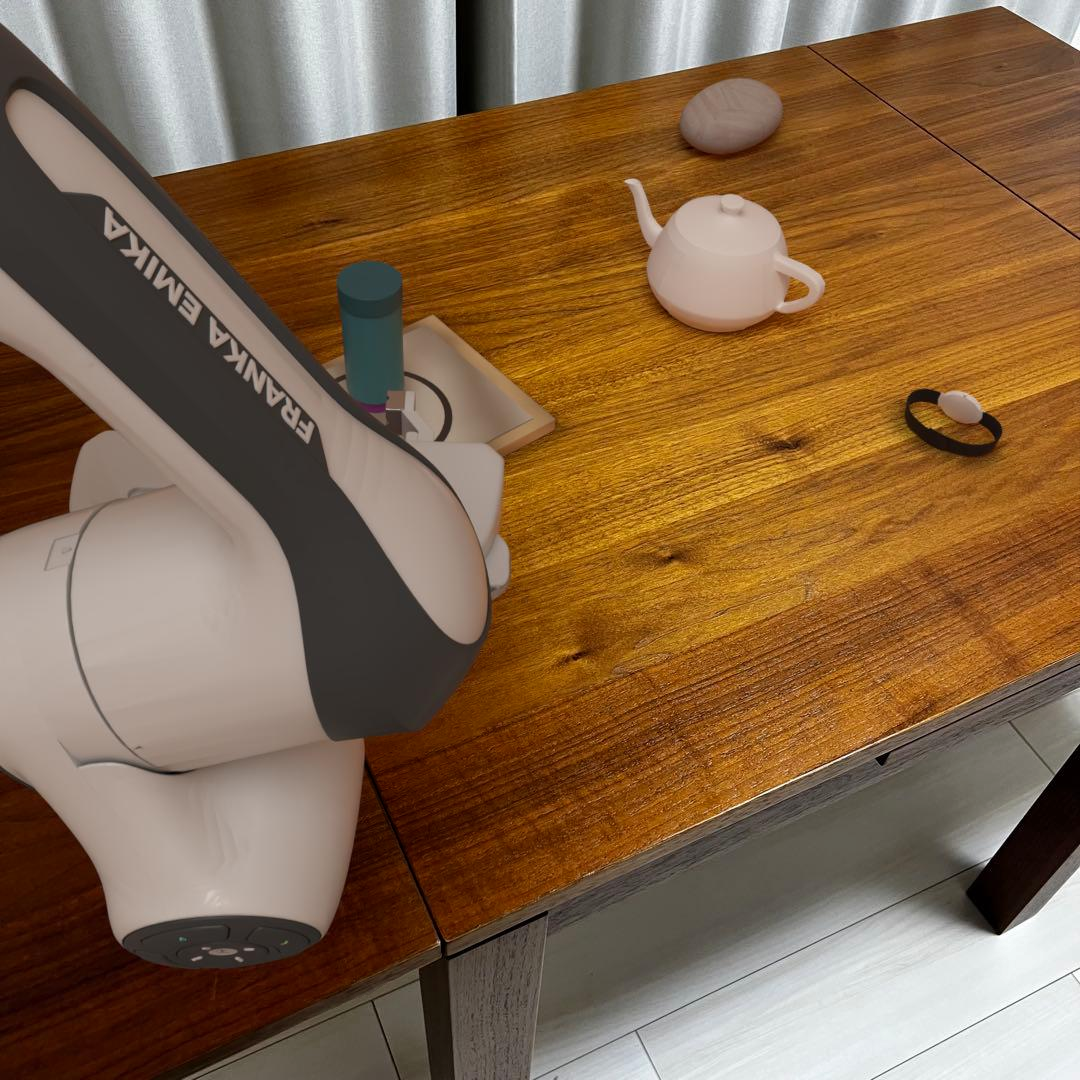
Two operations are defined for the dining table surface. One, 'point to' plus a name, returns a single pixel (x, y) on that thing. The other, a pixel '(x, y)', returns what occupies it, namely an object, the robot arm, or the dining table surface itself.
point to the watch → (959, 410)
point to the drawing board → (461, 391)
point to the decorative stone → (731, 116)
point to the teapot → (721, 262)
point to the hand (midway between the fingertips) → (311, 396)
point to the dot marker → (372, 331)
